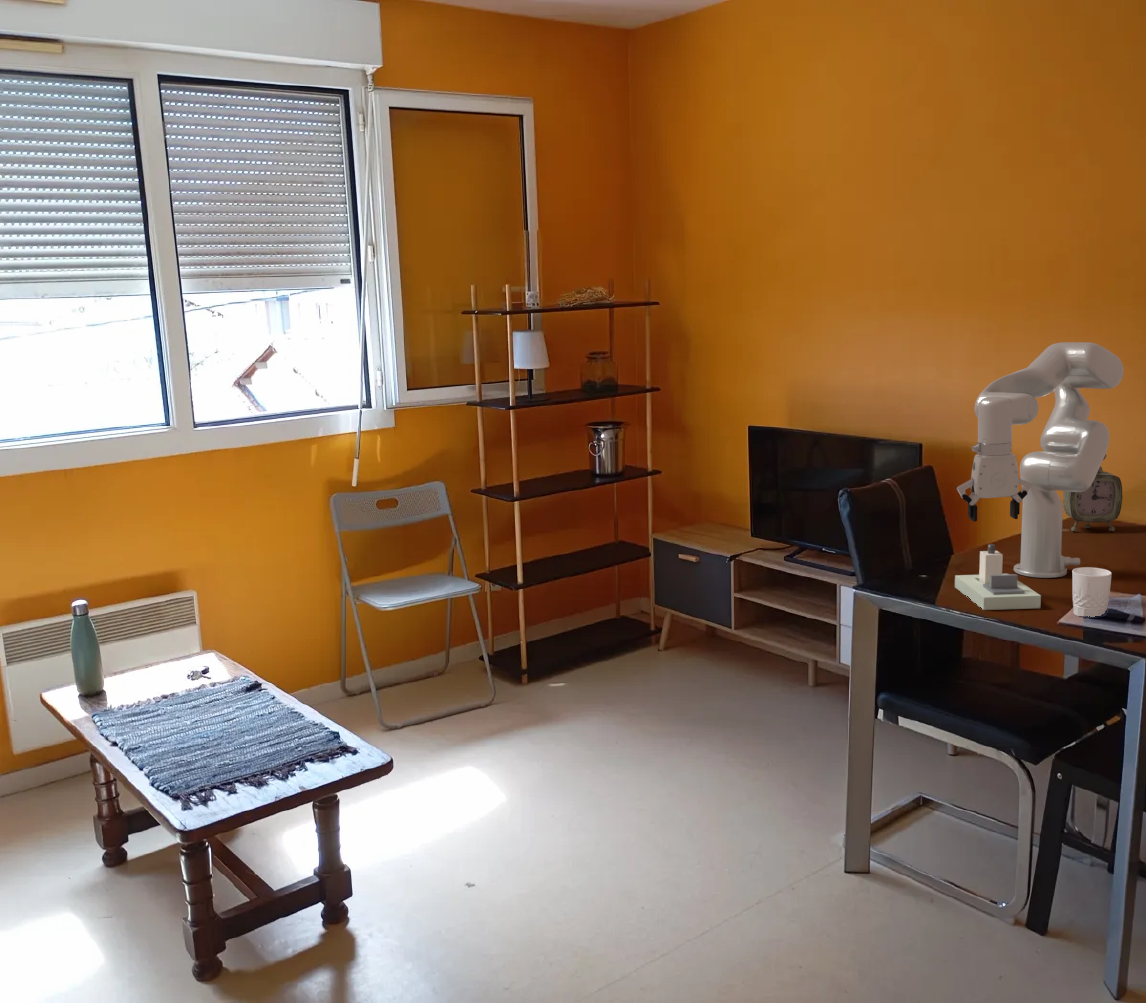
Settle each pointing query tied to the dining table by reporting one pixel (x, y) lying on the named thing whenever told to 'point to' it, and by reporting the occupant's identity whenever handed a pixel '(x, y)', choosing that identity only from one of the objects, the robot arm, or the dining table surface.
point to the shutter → (1003, 584)
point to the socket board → (996, 595)
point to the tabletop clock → (1095, 501)
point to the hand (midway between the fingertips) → (993, 519)
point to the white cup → (1090, 591)
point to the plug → (990, 564)
